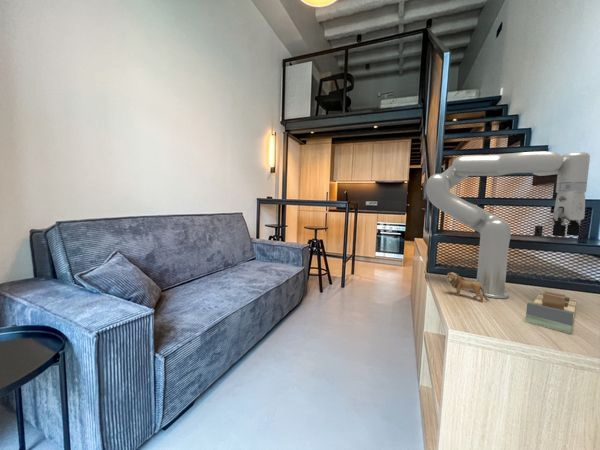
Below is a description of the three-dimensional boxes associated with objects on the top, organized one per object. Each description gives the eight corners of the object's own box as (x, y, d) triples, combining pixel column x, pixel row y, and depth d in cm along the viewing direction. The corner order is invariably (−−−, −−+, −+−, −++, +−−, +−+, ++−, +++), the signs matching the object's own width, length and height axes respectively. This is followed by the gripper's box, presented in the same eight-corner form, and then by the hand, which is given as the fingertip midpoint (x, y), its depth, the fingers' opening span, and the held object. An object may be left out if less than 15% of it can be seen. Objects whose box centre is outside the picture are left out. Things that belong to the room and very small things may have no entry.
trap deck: (571, 334, 74) (572, 325, 73) (525, 321, 81) (526, 314, 81) (575, 305, 96) (576, 298, 96) (539, 297, 104) (540, 291, 103)
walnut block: (562, 311, 84) (564, 298, 83) (542, 306, 87) (543, 293, 87) (564, 307, 87) (565, 294, 86) (543, 303, 91) (545, 290, 90)
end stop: (572, 325, 73) (573, 314, 73) (526, 314, 81) (527, 303, 81) (572, 324, 74) (573, 312, 74) (526, 312, 82) (528, 302, 82)
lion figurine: (444, 294, 105) (445, 272, 104) (446, 291, 109) (448, 270, 108) (488, 304, 95) (490, 280, 95) (489, 300, 99) (491, 277, 99)
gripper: (572, 186, 85) (567, 237, 87) (597, 189, 92) (592, 236, 93) (544, 187, 92) (539, 235, 93) (569, 189, 99) (564, 234, 100)
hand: (565, 235), depth 93 cm, fingers open, 9 cm apart
